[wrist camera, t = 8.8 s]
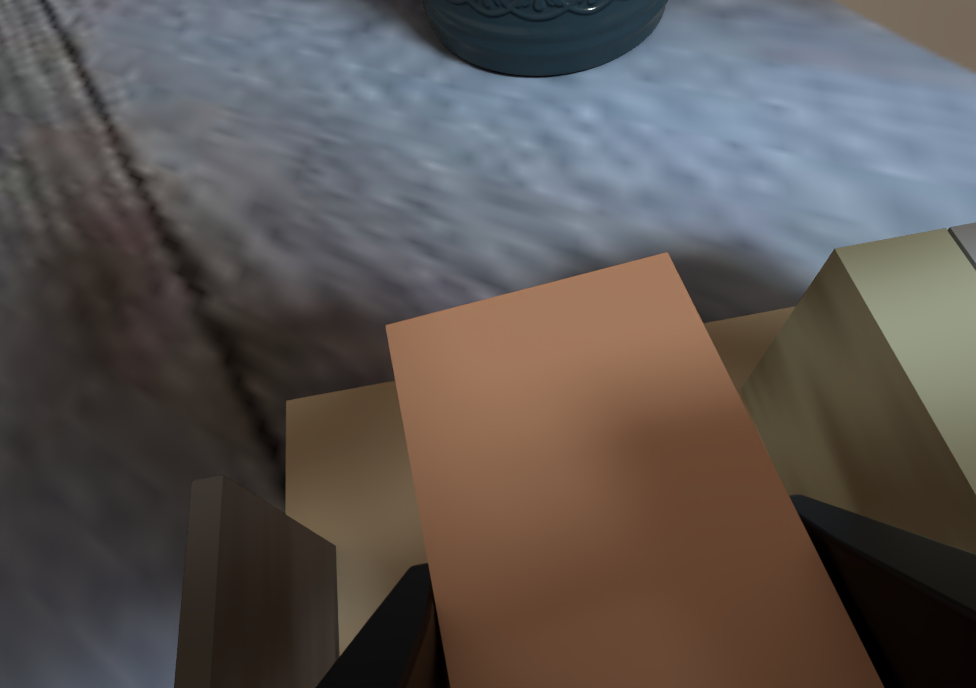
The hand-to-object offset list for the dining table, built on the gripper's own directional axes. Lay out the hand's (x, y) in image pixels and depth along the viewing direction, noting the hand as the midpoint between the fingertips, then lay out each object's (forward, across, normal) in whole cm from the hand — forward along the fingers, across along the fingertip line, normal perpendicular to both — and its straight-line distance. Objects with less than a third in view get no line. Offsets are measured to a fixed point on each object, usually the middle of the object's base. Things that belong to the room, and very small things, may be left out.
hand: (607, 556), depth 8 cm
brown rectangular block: (+6, 0, +6) cm, 9 cm away
